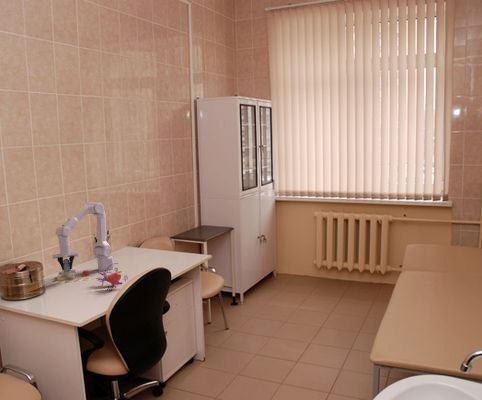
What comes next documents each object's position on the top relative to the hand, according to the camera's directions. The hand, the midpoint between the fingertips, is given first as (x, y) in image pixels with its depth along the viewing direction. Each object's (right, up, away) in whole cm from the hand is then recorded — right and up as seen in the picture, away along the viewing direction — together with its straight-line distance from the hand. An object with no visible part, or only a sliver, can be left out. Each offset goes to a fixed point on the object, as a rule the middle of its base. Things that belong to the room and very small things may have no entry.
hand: (67, 269), depth 278 cm
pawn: (0, -1, 0) cm, 1 cm away
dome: (-3, -7, +9) cm, 11 cm away
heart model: (+28, -9, -12) cm, 32 cm away
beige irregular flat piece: (+3, -7, +6) cm, 10 cm away
